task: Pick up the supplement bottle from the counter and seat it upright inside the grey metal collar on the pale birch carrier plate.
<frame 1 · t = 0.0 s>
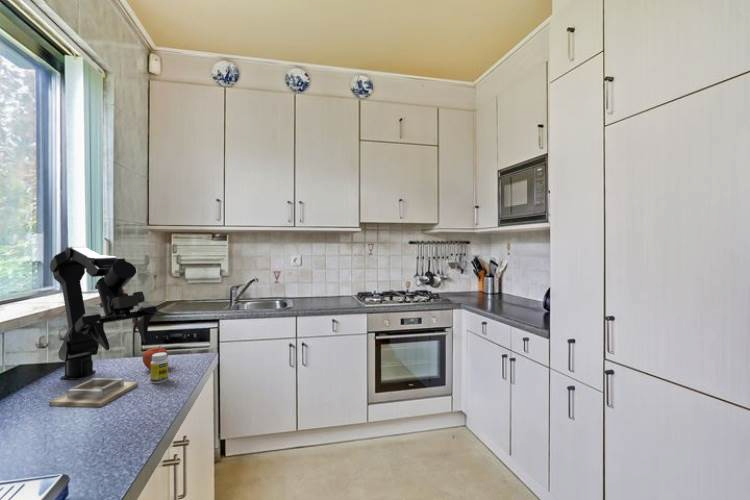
hand: (127, 345, 98), 15 cm above the worktop, tool tilted 35°, fingers open, 9 cm apart
apple: (155, 369, 122), on the worktop
supplement bottle: (159, 381, 111), on the worktop
carrier plate: (96, 394, 101), on the worktop
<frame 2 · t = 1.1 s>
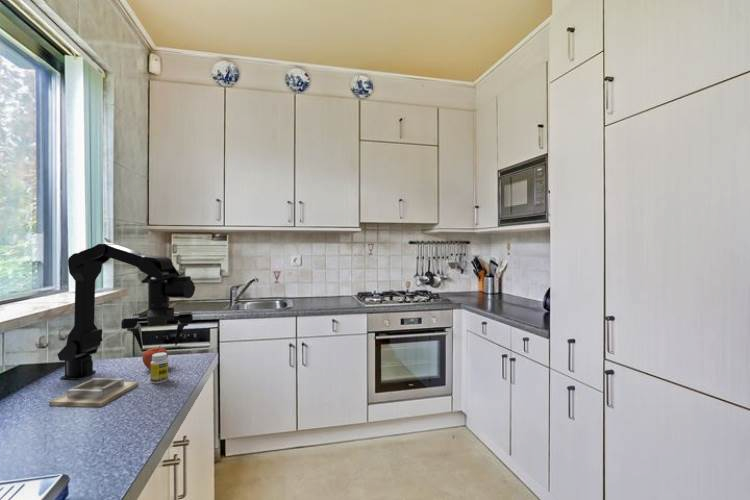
hand: (159, 347, 111), 11 cm above the worktop, tool pointing down, fingers open, 9 cm apart
nothing on the worktop moved.
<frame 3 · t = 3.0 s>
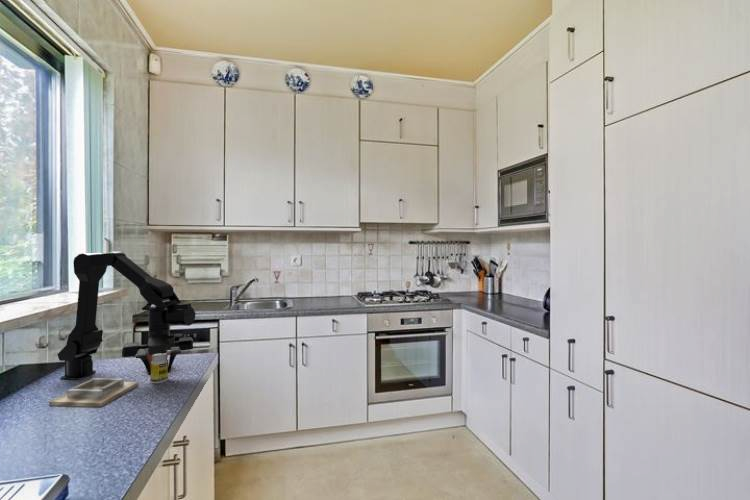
hand: (159, 373, 111), 2 cm above the worktop, tool pointing down, fingers closed on supplement bottle, 5 cm apart
supplement bottle: (159, 381, 111), on the worktop, touching gripper
everything else where it was.
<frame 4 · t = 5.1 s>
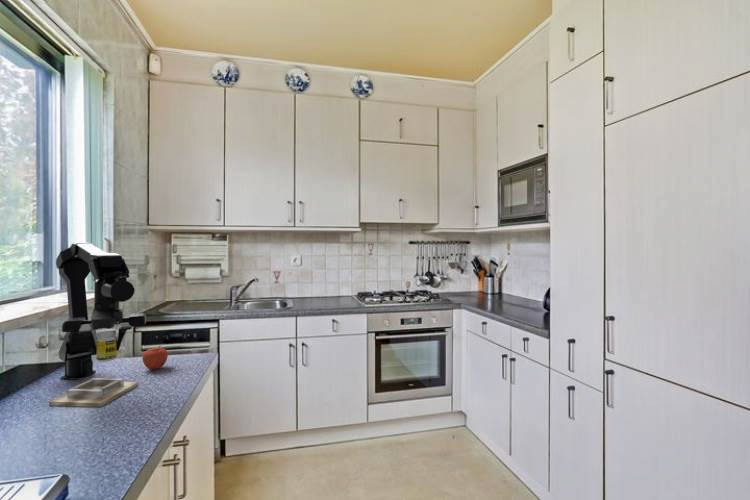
hand: (106, 351, 102), 12 cm above the worktop, tool pointing down, fingers closed on supplement bottle, 5 cm apart
supplement bottle: (107, 360, 102), point 9 cm above the worktop, touching gripper
everything else where it was.
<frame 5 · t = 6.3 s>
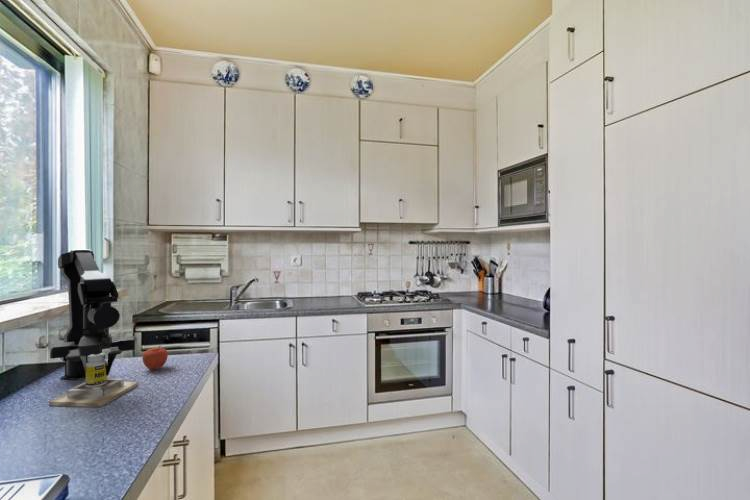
hand: (96, 376, 101), 5 cm above the worktop, tool pointing down, fingers closed on supplement bottle, 5 cm apart
supplement bottle: (96, 385, 101), point 3 cm above the worktop, touching gripper
everything else where it was.
when the fingers open (4 cm above the worktop, at t = 7.2 s): supplement bottle drops 1 cm, resting on carrier plate.
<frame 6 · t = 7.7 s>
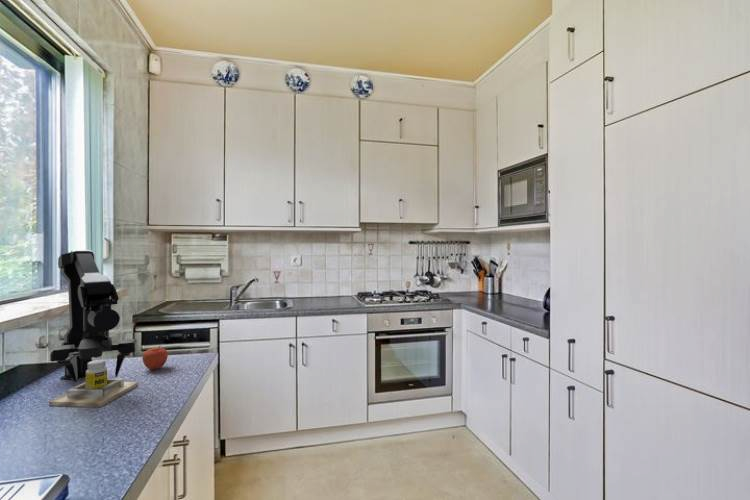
hand: (96, 379, 101), 4 cm above the worktop, tool pointing down, fingers open, 9 cm apart
supplement bottle: (96, 391, 101), point 1 cm above the worktop, touching carrier plate
everything else where it was.
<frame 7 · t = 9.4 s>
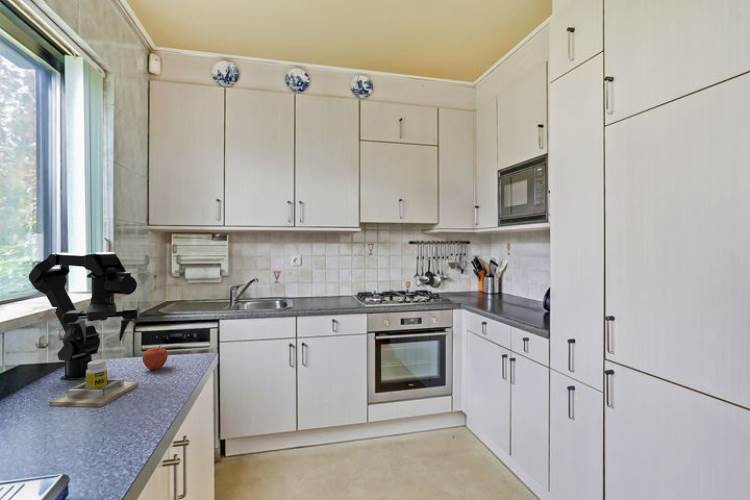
hand: (102, 342, 111), 12 cm above the worktop, tool pointing down, fingers open, 9 cm apart
nothing on the worktop moved.
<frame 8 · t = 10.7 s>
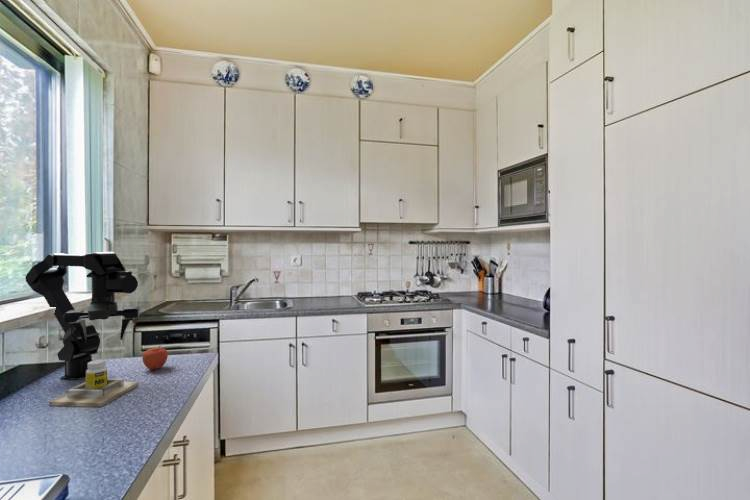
hand: (103, 341, 112), 12 cm above the worktop, tool pointing down, fingers open, 9 cm apart
nothing on the worktop moved.
at the end: supplement bottle 0.0 cm off-centre on the carrier plate, point 0.8 cm above the carrier plate's base; supplement bottle tilted 0°; the gripper is holding nothing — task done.
